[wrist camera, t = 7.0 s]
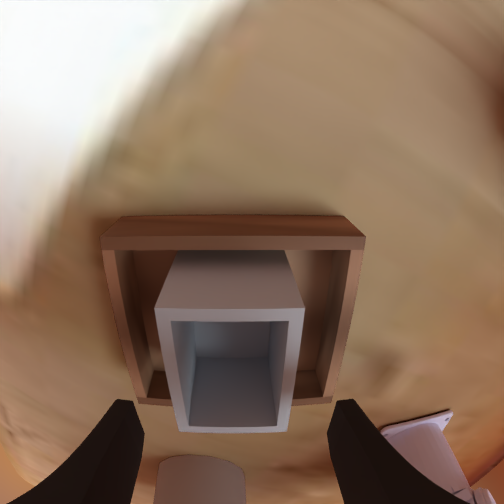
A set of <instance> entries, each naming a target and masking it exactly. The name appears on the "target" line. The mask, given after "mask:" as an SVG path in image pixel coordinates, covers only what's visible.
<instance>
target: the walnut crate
mask: <svg viewBox="0 0 504 504" xmlns="http://www.w3.org/2000/svg"><path fill="white" fill-rule="evenodd" d="M365 239H366V236H365V235H364V234H363V233H361V232H360V231H359V230H358V229H357V228H356V227H355V226H354V225H353V224H352V223H351V222H350V221H349V220H348V219H347V218H345V217H344V216H304V215H168V216H127V217H121V218H120V219H119V220H118V221H116V222H115V223H114V224H113V225H112V226H111V227H110V228H109V229H108V230H107V231H106V232H104V233H103V234H102V235H101V236H100V243H101V250H102V256H103V262H104V268H105V273H106V279H107V284H108V289H109V294H110V299H111V303H112V308H113V312H114V317H115V321H116V325H117V329H118V334H119V338H120V341H121V345H122V349H123V353H124V356H125V360H126V364H127V367H128V371H129V374H130V377H131V381H132V384H133V387H134V390H135V393H136V396H137V400H138V403H139V404H150V405H162V406H173V404H172V400H171V395H170V391H169V386H168V381H167V376H166V371H165V366H164V361H163V356H162V351H161V345H160V340H159V334H158V328H157V322H156V315H155V309H154V307H155V305H156V302H157V300H158V297H159V295H160V292H161V290H162V287H163V285H164V283H165V280H166V278H167V275H168V273H169V270H170V268H171V266H172V263H173V261H174V259H175V256H176V254H177V252H178V250H284V251H285V253H286V256H287V259H288V262H289V264H290V267H291V270H292V273H293V276H294V278H295V281H296V284H297V287H298V290H299V292H300V295H301V298H302V301H303V304H304V307H305V312H304V320H303V328H302V336H301V343H300V351H299V358H298V365H297V372H296V378H295V385H294V391H293V398H292V404H291V406H299V405H312V404H322V403H331V401H332V398H333V394H334V390H335V387H336V383H337V379H338V375H339V371H340V367H341V363H342V359H343V355H344V351H345V346H346V342H347V338H348V333H349V329H350V324H351V319H352V314H353V309H354V304H355V299H356V294H357V288H358V283H359V277H360V271H361V265H362V259H363V253H364V246H365Z"/></svg>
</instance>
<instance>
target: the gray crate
mask: <svg viewBox="0 0 504 504" xmlns="http://www.w3.org/2000/svg"><path fill="white" fill-rule="evenodd" d="M154 309H155V315H156V322H157V328H158V334H159V340H160V345H161V351H162V356H163V361H164V366H165V371H166V376H167V381H168V386H169V391H170V395H171V400H172V404H173V408H174V413H175V417H176V421H177V425H178V429H179V431H180V432H198V433H266V432H285V431H287V427H288V422H289V416H290V410H291V404H292V398H293V391H294V385H295V378H296V372H297V365H298V358H299V351H300V343H301V336H302V328H303V320H304V312H305V307H304V304H303V301H302V298H301V295H300V292H299V290H298V287H297V284H296V281H295V278H294V276H293V273H292V270H291V267H290V264H289V262H288V259H287V256H286V253H285V251H284V250H178V252H177V254H176V256H175V259H174V261H173V263H172V266H171V268H170V270H169V273H168V275H167V278H166V280H165V283H164V285H163V287H162V290H161V292H160V295H159V297H158V300H157V302H156V305H155V307H154Z"/></svg>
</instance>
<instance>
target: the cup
mask: <svg viewBox="0 0 504 504" xmlns="http://www.w3.org/2000/svg"><path fill="white" fill-rule="evenodd" d="M153 504H246V489H245V476H244V473H243V471H242V469H241V468H240V467H238V466H236V465H235V464H233V463H231V462H230V461H226V460H222V459H218V458H215V457H211V456H199V455H183V456H175V457H170V458H168V459H166V460H164V461H162V462H160V464H159V469H158V475H157V481H156V488H155V495H154V502H153Z"/></svg>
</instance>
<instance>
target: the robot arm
mask: <svg viewBox="0 0 504 504" xmlns="http://www.w3.org/2000/svg"><path fill="white" fill-rule="evenodd" d="M452 415H453V412H452V410H449V411H446V412H442V413H439V414H435V415H432V416H428V417H424V418H420V419H416V420H412V421H408V422H404V423H400V424H395V425H390V426H386V427H384V428H383V429H382V430H381V432H379V430H378V429H377V428H376V427H375V426H374V424H373V423H372V422H371V421H370V419H369V418H368V417H367V416H366V414H365V413H364V412H363V410H362V409H361V408H360V407H359V405H358V404H357V403H356V401H355V400H354V399H348V400H339V401H337V402H336V406H335V409H334V412H333V416H332V419H331V422H330V425H329V428H328V431H327V437H328V443H329V450H330V456H331V460H332V463H333V467H334V470H335V473H336V477H337V480H338V484H339V487H340V490H341V494H342V497H343V500H344V504H496V503H495V501H494V499H493V497H492V496H491V494H490V492H489V491H488V490H487V489H482V488H478V489H476V490H475V491H474V490H472V489H471V488H470V486H469V484H468V482H467V480H466V478H465V476H464V474H463V472H462V470H461V468H460V466H459V464H458V462H457V460H456V458H455V456H454V454H453V452H452V450H451V448H450V446H449V444H448V442H447V440H446V438H445V436H444V435H443V433H442V431H443V429H444V428H445V426H446V425H447V423H448V421H449V420H450V418H451V417H452ZM144 434H145V433H144V431H143V428H142V425H141V423H140V420H139V417H138V415H137V412H136V409H135V406H134V403H133V401H129V400H120V399H117V400H116V401H115V402H114V403H113V404H112V406H111V407H110V408H109V410H108V411H107V412H106V414H105V415H104V416H103V418H102V419H101V420H100V422H99V423H98V424H97V425H96V427H95V428H94V429H93V430H92V432H91V433H90V434H89V435H88V436H87V438H86V439H85V440H84V441H83V442H82V444H81V445H80V446H79V447H78V448H77V449H76V450H75V451H74V452H73V453H72V454H71V456H70V457H69V458H68V459H67V460H66V461H65V462H64V463H63V464H62V465H61V466H59V467H58V468H57V469H56V470H55V471H54V472H53V473H52V474H51V475H49V476H48V477H47V478H46V479H44V480H43V481H42V482H40V483H39V484H38V485H37V486H35V487H34V488H32V489H31V490H29V491H28V492H26V493H25V494H23V495H21V496H20V497H18V498H16V499H15V500H13V501H11V502H9V503H7V504H130V503H131V498H132V494H133V490H134V486H135V482H136V478H137V474H138V470H139V466H140V462H141V458H142V451H143V442H144Z"/></svg>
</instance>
